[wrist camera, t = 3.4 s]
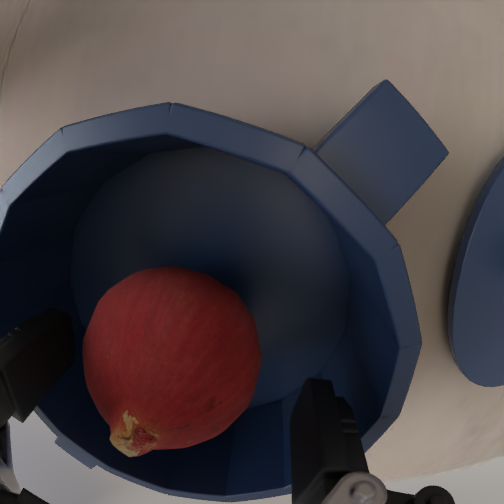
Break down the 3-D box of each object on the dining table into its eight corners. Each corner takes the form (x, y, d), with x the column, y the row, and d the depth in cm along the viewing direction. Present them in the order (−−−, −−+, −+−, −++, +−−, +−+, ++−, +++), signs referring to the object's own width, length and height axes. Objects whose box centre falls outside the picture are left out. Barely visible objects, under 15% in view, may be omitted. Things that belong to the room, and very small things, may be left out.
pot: (22, 322, 14) (-34, 370, 9) (226, 19, 10) (195, -65, 4) (197, 457, 17) (180, 526, 11) (457, 252, 12) (538, 304, 6)
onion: (247, 371, 14) (229, 524, 6) (133, 341, 14) (52, 464, 6) (278, 257, 12) (288, 411, 4) (140, 226, 12) (-2, 316, 4)
